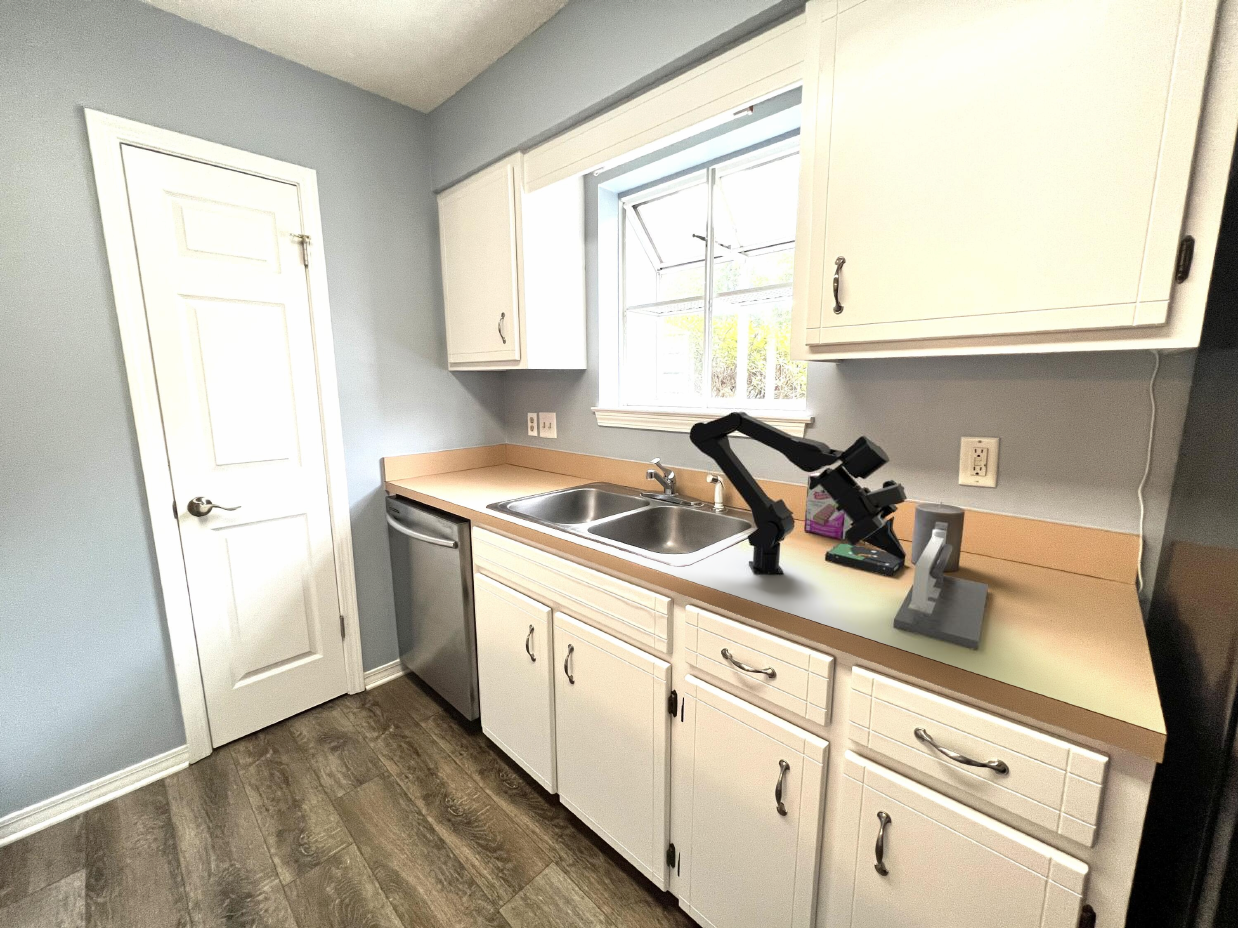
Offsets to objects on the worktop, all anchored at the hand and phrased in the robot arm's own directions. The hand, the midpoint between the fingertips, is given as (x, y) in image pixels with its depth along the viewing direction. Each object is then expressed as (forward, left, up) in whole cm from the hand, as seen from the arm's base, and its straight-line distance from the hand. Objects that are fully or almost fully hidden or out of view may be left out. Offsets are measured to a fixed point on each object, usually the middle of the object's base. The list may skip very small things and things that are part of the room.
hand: (904, 557), depth 96 cm
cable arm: (+1, +5, -6) cm, 8 cm away
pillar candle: (-21, +18, -9) cm, 30 cm away
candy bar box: (-43, +1, -9) cm, 44 cm away
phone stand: (+2, +7, -9) cm, 12 cm away
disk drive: (-22, +2, -10) cm, 24 cm away
